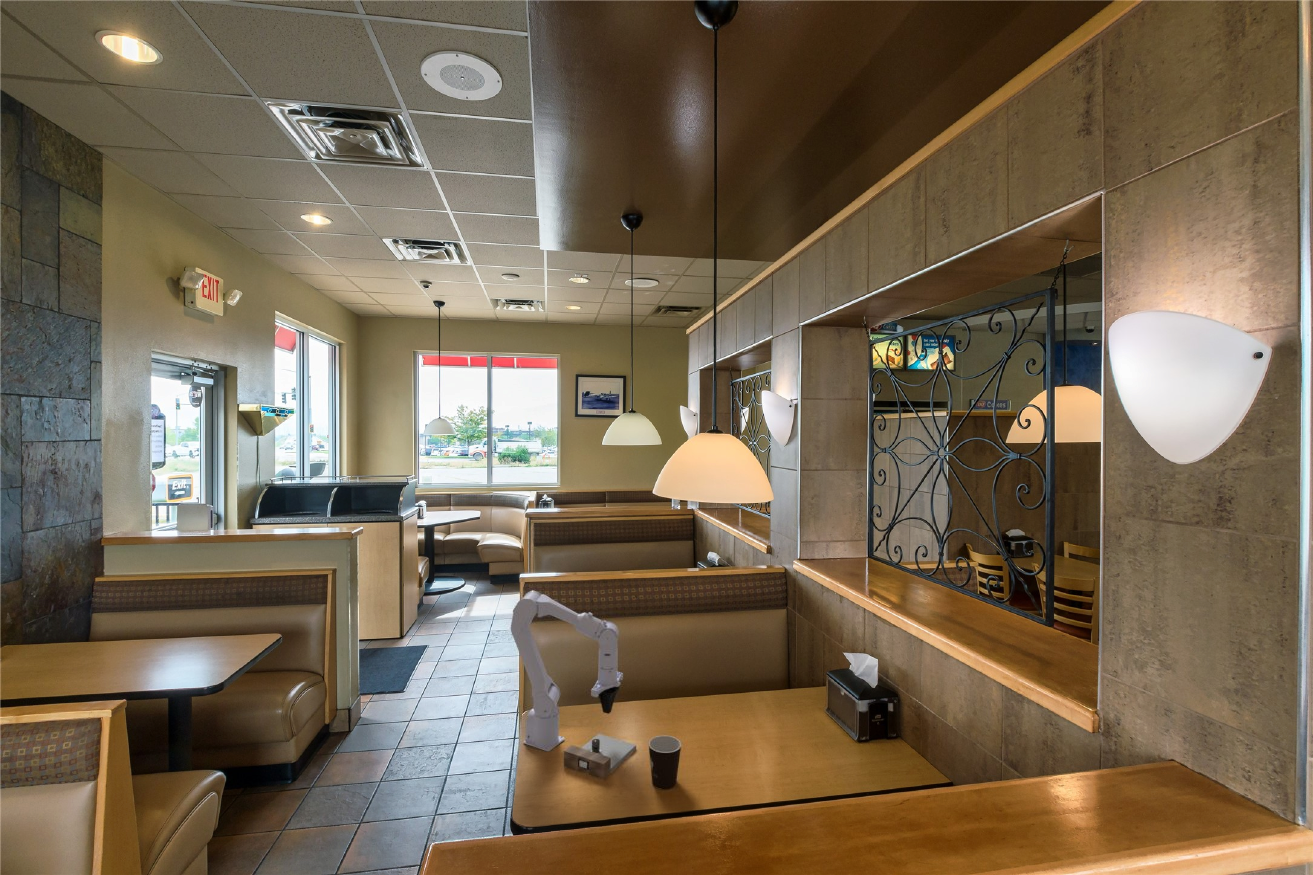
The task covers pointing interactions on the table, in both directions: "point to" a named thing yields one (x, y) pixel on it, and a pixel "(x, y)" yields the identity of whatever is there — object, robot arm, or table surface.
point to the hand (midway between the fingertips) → (606, 712)
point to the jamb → (597, 762)
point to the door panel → (612, 749)
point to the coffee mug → (664, 761)
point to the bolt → (594, 749)
